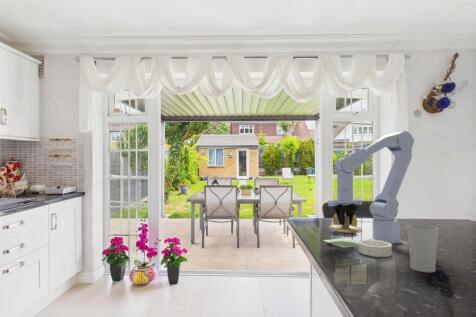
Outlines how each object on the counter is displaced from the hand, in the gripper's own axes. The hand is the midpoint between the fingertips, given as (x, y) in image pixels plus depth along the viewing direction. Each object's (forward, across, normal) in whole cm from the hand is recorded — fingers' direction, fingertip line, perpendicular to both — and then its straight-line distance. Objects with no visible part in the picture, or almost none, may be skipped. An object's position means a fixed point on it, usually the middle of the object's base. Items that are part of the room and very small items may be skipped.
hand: (345, 224), depth 121 cm
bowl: (+7, 0, +15) cm, 17 cm away
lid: (+2, 0, 0) cm, 2 cm away
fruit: (+8, -13, -16) cm, 22 cm away
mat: (+7, 0, 0) cm, 7 cm away
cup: (+8, -1, +32) cm, 33 cm away
